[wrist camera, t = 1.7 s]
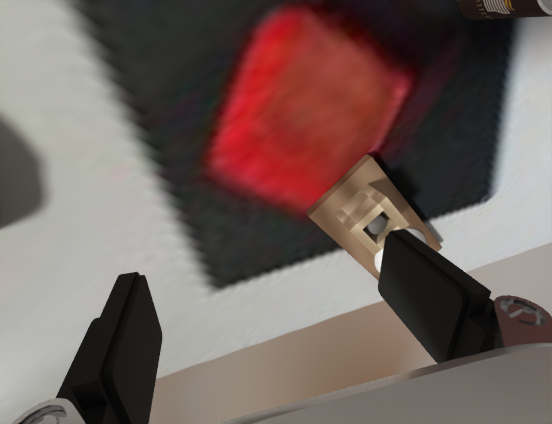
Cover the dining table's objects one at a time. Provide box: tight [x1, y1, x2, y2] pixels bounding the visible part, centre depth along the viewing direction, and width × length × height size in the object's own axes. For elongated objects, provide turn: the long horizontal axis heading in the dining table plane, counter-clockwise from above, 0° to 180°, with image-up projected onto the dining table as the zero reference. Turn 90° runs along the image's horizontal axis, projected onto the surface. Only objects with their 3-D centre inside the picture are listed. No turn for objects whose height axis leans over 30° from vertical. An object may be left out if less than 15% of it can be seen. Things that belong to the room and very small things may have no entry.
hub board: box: [306, 154, 442, 281], centre depth 44 cm, size 12×24×6 cm, turn 43°
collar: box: [334, 184, 409, 256], centre depth 40 cm, size 6×6×5 cm
